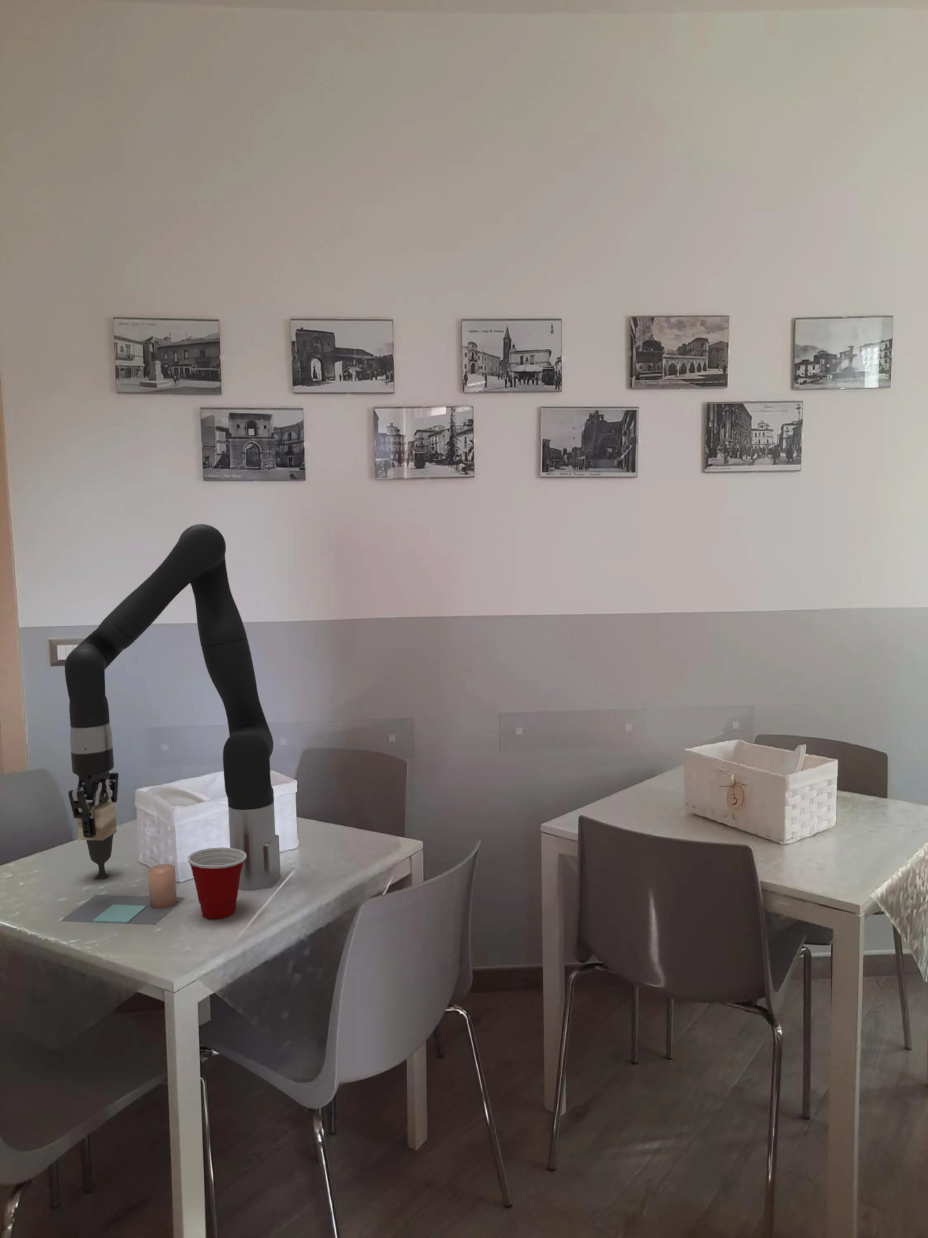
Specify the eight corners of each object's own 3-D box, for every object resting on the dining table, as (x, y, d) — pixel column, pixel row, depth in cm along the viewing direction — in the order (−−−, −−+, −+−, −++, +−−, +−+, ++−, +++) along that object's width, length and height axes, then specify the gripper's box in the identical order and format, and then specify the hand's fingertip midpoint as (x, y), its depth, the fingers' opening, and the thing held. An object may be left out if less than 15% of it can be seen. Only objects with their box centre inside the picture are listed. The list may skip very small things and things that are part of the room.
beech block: (116, 831, 167) (114, 802, 167) (102, 840, 162) (100, 810, 162) (93, 831, 168) (91, 802, 167) (78, 840, 163) (76, 810, 162)
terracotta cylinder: (181, 898, 167) (179, 864, 166) (169, 909, 162) (167, 874, 161) (157, 897, 167) (155, 863, 167) (145, 908, 162) (143, 873, 162)
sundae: (125, 873, 182) (121, 806, 181) (108, 886, 175) (104, 816, 174) (96, 873, 183) (91, 805, 181) (79, 885, 176) (74, 815, 175)
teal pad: (146, 907, 163) (146, 906, 163) (127, 923, 156) (127, 922, 156) (112, 906, 164) (112, 904, 164) (92, 922, 157) (92, 920, 157)
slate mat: (185, 900, 167) (184, 897, 167) (155, 927, 155) (155, 924, 155) (96, 897, 170) (96, 894, 170) (60, 924, 158) (60, 921, 158)
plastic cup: (256, 919, 158) (253, 857, 157) (197, 933, 153) (194, 869, 152) (241, 899, 167) (238, 840, 166) (185, 911, 162) (182, 851, 161)
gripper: (88, 756, 156) (95, 845, 157) (129, 738, 170) (134, 820, 172) (51, 756, 157) (58, 845, 158) (94, 738, 171) (100, 820, 173)
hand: (97, 831), depth 165 cm, fingers closed on beech block, 5 cm apart
